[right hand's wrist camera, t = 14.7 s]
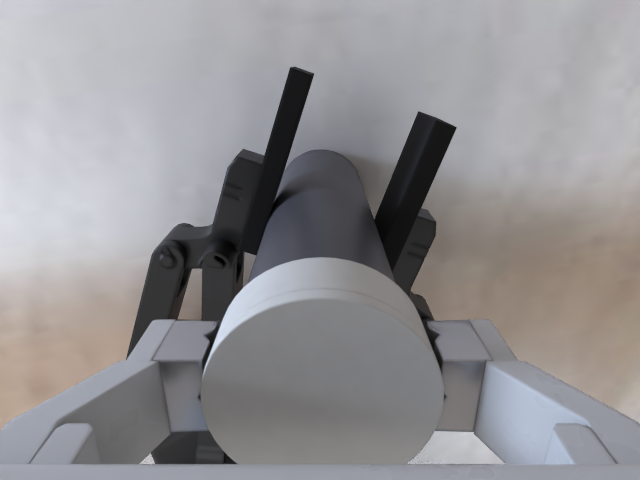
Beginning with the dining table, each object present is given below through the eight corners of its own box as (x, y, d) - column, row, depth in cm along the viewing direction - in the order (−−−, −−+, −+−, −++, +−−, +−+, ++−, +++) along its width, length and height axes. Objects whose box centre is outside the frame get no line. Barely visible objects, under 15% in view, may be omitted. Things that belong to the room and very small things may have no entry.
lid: (305, 456, 11) (303, 522, 10) (176, 333, 10) (147, 388, 8) (462, 363, 10) (490, 420, 9) (342, 213, 9) (347, 247, 7)
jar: (299, 238, 24) (271, 484, 10) (267, 168, 23) (181, 340, 9) (372, 210, 23) (449, 430, 9) (344, 136, 22) (385, 267, 8)
